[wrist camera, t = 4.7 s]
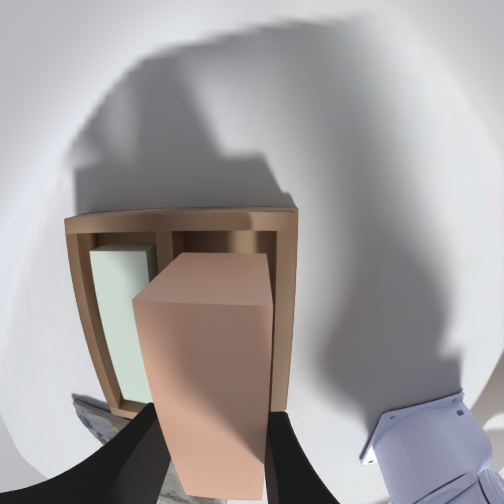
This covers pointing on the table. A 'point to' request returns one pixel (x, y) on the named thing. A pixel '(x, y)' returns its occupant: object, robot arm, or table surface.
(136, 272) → the glazed tile
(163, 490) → the fossil rock
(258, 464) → the clay bar
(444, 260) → the table surface
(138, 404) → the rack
